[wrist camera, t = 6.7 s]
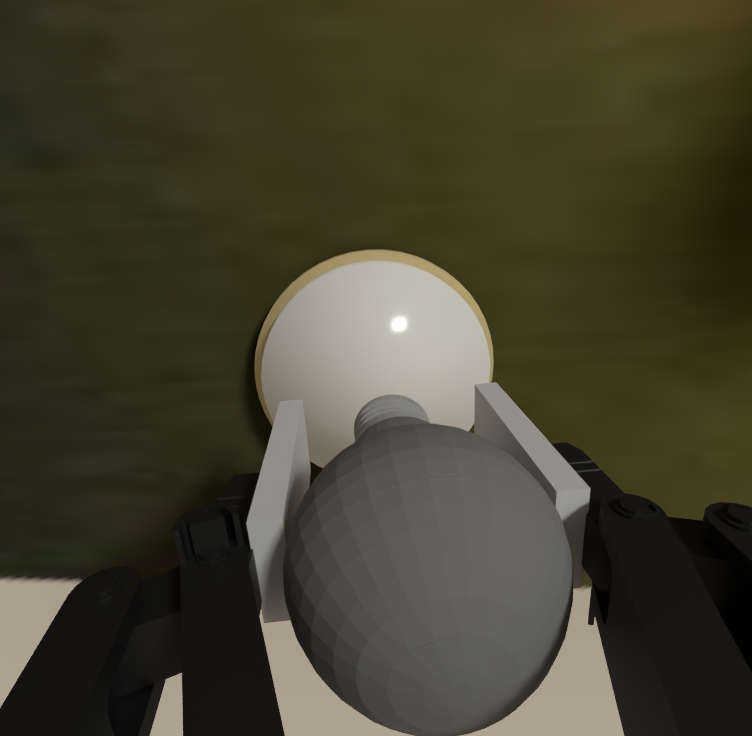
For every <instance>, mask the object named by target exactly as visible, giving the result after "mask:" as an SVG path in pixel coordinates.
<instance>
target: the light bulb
mask: <svg viewBox="0 0 752 736" xmlns="http://www.w3.org/2000/svg"><path fill="white" fill-rule="evenodd" d="M354 437H355V443H353V444H352V445H350V446H348V447H347V448H345V449H343V450H342V451H341V452H340V453H339V454H338V455H336V456H335V457H334V458H333V459H332V460H331V461H330V462H329V463H328V464H326V465H325V467H324V468H323V469H322V471H321V472H320V473H319V475H318V476H317V477H316V479H315V480H314V481H313V483H312V484H311V486H310V487H309V488H308V490H307V491H306V493H305V495H304V497H303V499H302V501H301V503H300V505H299V508H298V510H297V512H296V514H295V516H294V519H293V522H292V524H291V527H290V531H289V536H288V541H287V546H286V551H285V557H284V563H283V583H284V595H285V602H286V606H287V609H288V613H289V616H290V619H291V623H292V626H293V629H294V632H295V635H296V638H297V640H298V642H299V644H300V645H301V647H302V649H303V650H304V652H305V654H306V656H307V658H308V659H309V661H310V663H311V664H312V666H313V668H314V669H315V671H316V672H317V674H318V675H319V676H320V677H321V678H322V680H323V681H324V682H325V683H326V684H327V685H328V687H330V689H331V690H332V691H333V692H334V693H335V694H336V695H337V696H338V697H339V698H340V699H341V700H342V701H344V702H345V703H347V704H348V705H350V706H351V707H352V708H354V709H355V710H357V711H358V712H360V713H361V714H363V715H364V716H366V717H367V718H369V719H370V720H372V721H373V722H375V723H378V724H380V725H382V726H385V727H387V728H389V729H392V730H396V731H399V732H402V733H406V734H410V735H415V736H458V735H464V734H468V733H472V732H475V731H478V730H481V729H484V728H487V727H489V726H490V725H492V724H494V723H496V722H498V721H500V720H502V719H503V718H505V717H506V716H508V715H509V714H511V713H512V712H513V711H515V710H516V709H517V708H518V707H519V706H520V705H521V704H522V703H523V702H524V701H525V700H526V699H527V698H528V697H529V696H530V695H531V694H532V693H533V692H534V691H535V690H536V689H537V688H538V687H539V685H540V684H541V682H542V681H543V680H544V678H545V677H546V675H547V674H548V672H549V670H550V668H551V666H552V665H553V662H554V661H555V659H556V657H557V655H558V652H559V650H560V648H561V646H562V643H563V641H564V639H565V635H566V631H567V627H568V622H569V617H570V612H571V607H572V602H573V567H572V558H571V551H570V546H569V543H568V540H567V536H566V533H565V530H564V526H563V523H562V520H561V517H560V514H559V513H558V511H557V509H556V508H555V506H554V504H553V503H552V501H551V499H550V498H549V496H548V494H547V493H546V491H545V490H544V489H543V487H542V486H541V485H540V483H539V482H538V481H537V480H536V479H535V478H534V477H533V476H532V475H531V474H530V473H529V472H528V471H527V469H526V468H525V467H524V466H523V465H522V464H521V463H520V462H518V461H517V460H516V459H515V458H514V457H513V456H512V455H510V454H509V453H507V452H506V451H504V450H502V449H501V448H499V447H498V446H496V445H495V444H493V443H492V442H490V441H488V440H487V439H485V438H483V437H481V436H479V435H476V434H474V433H471V432H468V431H466V430H463V429H461V428H457V427H451V426H446V425H440V424H431V423H430V421H429V419H428V416H427V414H426V412H425V411H424V409H423V408H422V407H421V406H420V405H419V404H418V403H417V402H415V401H414V400H412V399H411V398H408V397H406V396H402V395H383V396H380V397H377V398H374V399H373V400H371V401H369V402H368V403H367V404H366V405H365V406H363V407H362V409H361V410H360V411H359V413H358V415H357V417H356V419H355V424H354Z"/></svg>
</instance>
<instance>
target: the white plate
mask: <svg viewBox="0 0 752 736" xmlns="http://www.w3.org/2000/svg"><path fill="white" fill-rule="evenodd" d="M254 369H255V381H256V387H257V392H258V396H259V399H260V402H261V405H262V407H263V410H264V412H265V414H266V416H267V418H268V420H269V421H270V423H271V425H272V426H273V424H274V421H275V417H276V414H277V410H278V406H279V403H280V401H289V400H300V399H302V400H303V408H304V417H305V425H306V433H307V442H308V450H309V458H310V461H311V462H312V463H314V464H316V465H317V466H319V467H322V468H324V467H325V465H326V464H328V463H329V462H330V461H331V460H332V459H333V458H334V457H335V456H336V455H338V454H339V453H340V452H341V451H342V450H343V449H345V448H347V447H348V446H350V445H352V444H353V443H355V437H354V424H355V419H356V417H357V415H358V413H359V411H360V410H361V409H362V407H363V406H365V405H366V404H367V403H368V402H369V401H371V400H373V399H374V398H377V397H380V396H383V395H402V396H406V397H408V398H411V399H412V400H414V401H415V402H417V403H418V404H419V405H420V406H421V407H422V408H423V409H424V411H425V412H426V414H427V416H428V419H429V421H430V423H431V424H440V425H446V426H451V427H457V428H461V429H463V430H466V431H469V430H470V429H471V427H472V426H473V424H474V416H475V384H484V383H491V381H492V374H493V347H492V341H491V336H490V332H489V329H488V326H487V323H486V320H485V318H484V316H483V314H482V312H481V310H480V308H479V306H478V305H477V303H476V302H475V300H474V299H473V297H472V296H471V295H470V293H469V292H468V291H467V290H466V289H465V288H464V287H463V286H462V285H461V284H460V283H459V282H458V281H457V280H456V279H455V278H453V277H452V276H451V275H450V274H448V273H447V272H446V271H444V270H443V269H441V268H439V267H438V266H436V265H434V264H433V263H431V262H429V261H427V260H425V259H423V258H420V257H418V256H416V255H413V254H409V253H405V252H402V251H397V250H390V249H361V250H354V251H349V252H345V253H341V254H338V255H335V256H332V257H330V258H328V259H325V260H323V261H321V262H319V263H317V264H315V265H314V266H312V267H310V268H309V269H307V270H306V271H304V272H303V273H302V274H301V275H299V276H298V277H297V278H296V279H294V280H293V281H292V282H291V283H290V285H289V286H288V287H287V288H286V289H285V290H284V291H283V292H282V293H281V295H280V296H279V298H278V299H277V300H276V302H275V303H274V305H273V307H272V308H271V310H270V312H269V314H268V316H267V318H266V320H265V322H264V324H263V327H262V329H261V332H260V335H259V338H258V343H257V347H256V352H255V367H254Z"/></svg>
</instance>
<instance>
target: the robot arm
mask: <svg viewBox="0 0 752 736" xmlns="http://www.w3.org/2000/svg"><path fill="white" fill-rule="evenodd" d="M474 434H476V435H479V436H481V437H483V438H485V439H487V440H488V441H490V442H492V443H493V444H495V445H496V446H498V447H499V448H501V449H502V450H504V451H506V452H507V453H509V454H510V455H512V456H513V457H514V458H515V459H516V460H517V461H518V462H520V463H521V464H522V465H523V466H524V467H525V468H526V469H527V471H528V472H529V473H530V474H531V475H532V476H533V477H534V478H535V479H536V480H537V481H538V482H539V483H540V485H541V486H542V487H543V489H544V490H545V491H546V493H547V494H548V496H549V498H550V499H551V501H552V503H553V504H554V506H555V508H556V509H557V511H558V513H559V514H560V517H561V520H562V523H563V526H564V530H565V533H566V536H567V540H568V543H569V546H570V551H571V558H572V567H573V588H580V587H581V580H582V570H583V568H584V569H585V571H586V572H587V574H588V575H589V577H590V578H591V580H592V589H591V598H590V608H589V618H588V624H589V625H593V624H594V617H596V621H597V625H598V629H599V633H600V637H601V641H602V646H603V649H604V654H605V658H606V662H607V666H608V670H609V674H610V678H611V682H612V687H613V690H614V694H615V699H616V703H617V707H618V711H619V715H620V719H621V723H622V727H623V731H624V735H625V736H752V508H751V507H749V506H746V505H742V504H741V505H740V504H737V503H723V502H720V503H715V504H710V505H709V506H708V507H707V508H706V509H705V513H704V518H703V521H701V520H692V519H682V518H673V517H667V515H666V513H665V512H664V511H663V510H662V509H661V508H660V506H658V505H657V504H655V503H654V502H652V501H650V500H648V499H646V498H643V497H640V496H637V495H631V494H625V493H624V492H623V491H622V490H621V489H620V488H619V487H618V486H617V485H616V484H615V483H614V482H613V481H612V480H611V479H610V478H609V477H608V476H607V475H606V474H605V473H604V472H603V471H602V470H600V468H599V467H598V466H597V465H596V464H595V463H594V462H592V460H591V459H590V458H589V457H588V456H587V455H586V454H585V453H584V452H583V451H582V450H580V449H578V448H576V447H574V446H572V445H570V444H569V443H567V442H566V443H555V444H551V443H550V442H549V441H548V440H547V439H546V438H545V437H544V436H543V434H542V433H541V432H540V431H539V430H538V429H537V428H536V427H535V425H534V424H533V423H532V422H531V421H530V420H529V419H528V418H527V416H526V415H525V414H524V413H523V412H522V411H521V410H520V409H519V407H518V406H517V405H516V404H515V403H514V402H513V401H512V400H511V398H510V397H509V396H508V395H507V394H506V393H505V392H504V391H503V390H502V388H501V387H500V386H499V385H498V384H497V383H484V384H475V416H474ZM310 474H311V467H310V458H309V450H308V442H307V433H306V425H305V417H304V408H303V400H302V399H300V400H289V401H280V403H279V406H278V410H277V414H276V417H275V421H274V424H273V428H272V432H271V435H270V439H269V443H268V446H267V450H266V453H265V457H264V461H263V464H262V468H261V471H260V473H252V474H242V475H234V476H233V477H232V478H231V479H230V480H229V481H228V482H227V483H226V484H225V485H223V487H222V490H221V492H220V495H219V497H218V500H217V502H216V503H214V504H208V505H203V506H200V507H197V508H195V509H192V510H190V511H189V512H187V513H185V514H184V515H182V516H181V517H180V518H179V519H178V520H177V521H176V522H175V524H174V527H173V530H172V533H173V537H174V541H175V545H176V550H177V554H178V558H179V562H180V566H178V567H176V568H174V569H172V570H170V571H167V572H165V573H162V574H159V575H156V576H153V577H150V578H146V579H143V580H140V576H139V575H138V573H137V571H136V570H135V569H132V568H129V567H113V568H109V569H105V570H101V571H99V572H97V573H95V574H93V575H91V576H89V577H87V578H86V579H85V580H83V581H82V582H81V583H79V584H78V585H76V587H75V588H74V589H73V590H72V591H71V593H70V594H69V595H68V597H67V598H66V600H65V601H64V603H63V605H62V606H61V608H60V610H59V611H58V613H57V615H56V616H55V618H54V620H53V621H52V623H51V625H50V626H49V628H48V630H47V631H46V633H45V635H44V636H43V638H42V640H41V641H40V643H39V645H38V646H37V648H36V650H35V651H34V653H33V655H32V656H31V658H30V660H29V661H28V663H27V665H26V666H25V668H24V670H23V671H22V673H21V675H20V676H19V678H18V680H17V681H16V683H15V685H14V686H13V688H12V690H11V691H10V693H9V695H8V696H7V698H6V700H5V701H4V703H3V705H2V706H1V708H0V736H149V735H150V732H151V729H152V725H153V722H154V718H155V714H156V711H157V708H158V704H159V701H160V697H161V694H162V691H163V687H164V683H165V679H167V678H169V677H172V676H174V675H177V674H179V673H182V691H183V692H182V693H183V736H285V735H284V731H283V726H282V721H281V716H280V712H279V707H278V703H277V698H276V693H275V688H274V684H273V679H272V674H271V670H270V665H269V661H268V656H267V651H266V646H265V642H264V637H263V632H262V628H261V623H260V618H259V615H260V610H261V609H262V614H263V619H264V623H267V622H276V621H285V620H291V619H290V616H289V613H288V609H287V606H286V602H285V595H284V583H283V563H284V557H285V551H286V546H287V541H288V536H289V531H290V527H291V524H292V522H293V519H294V516H295V514H296V512H297V510H298V508H299V505H300V503H301V501H302V499H303V497H304V495H305V493H306V491H307V490H308V488H309V485H310Z"/></svg>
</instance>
